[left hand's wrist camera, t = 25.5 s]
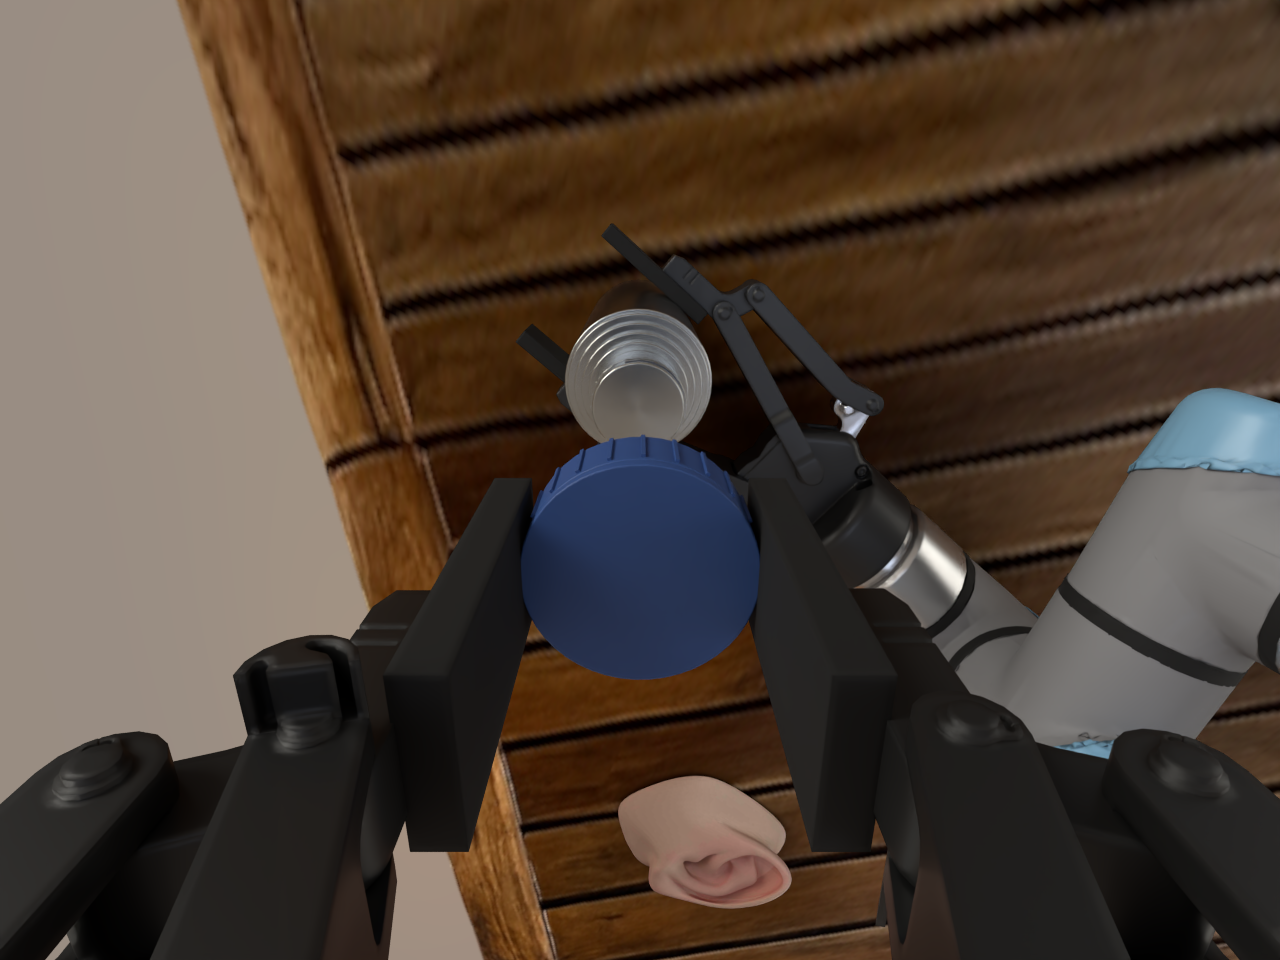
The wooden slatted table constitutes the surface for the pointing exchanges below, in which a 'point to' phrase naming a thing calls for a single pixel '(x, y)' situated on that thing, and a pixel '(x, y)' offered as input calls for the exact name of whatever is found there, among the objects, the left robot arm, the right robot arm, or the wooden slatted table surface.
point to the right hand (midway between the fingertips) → (565, 282)
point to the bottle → (638, 367)
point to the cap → (640, 559)
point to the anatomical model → (706, 842)
